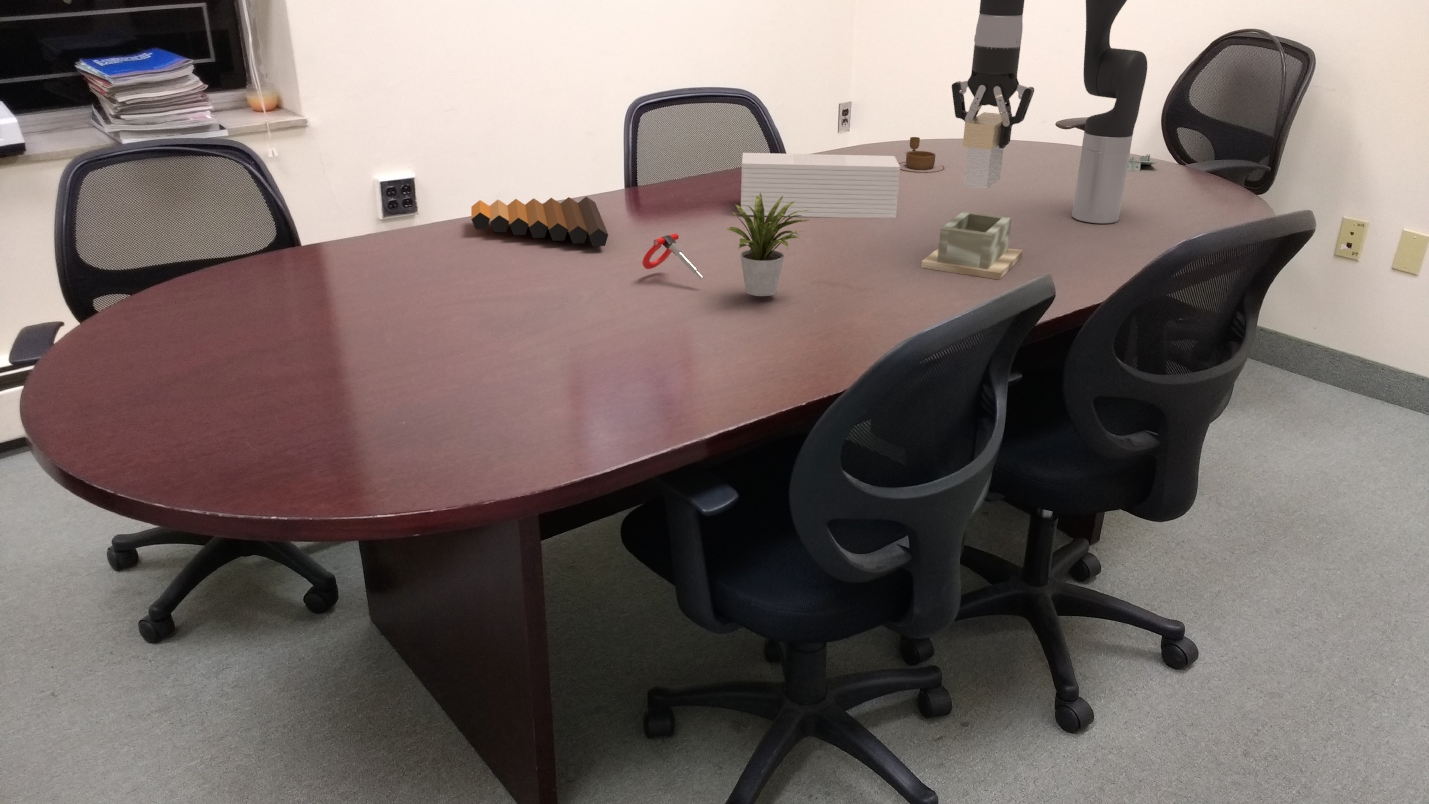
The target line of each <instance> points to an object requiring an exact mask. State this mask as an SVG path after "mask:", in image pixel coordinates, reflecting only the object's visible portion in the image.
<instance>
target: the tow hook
mask: <svg viewBox="0 0 1429 804" xmlns="http://www.w3.org/2000/svg"><path fill="white" fill-rule="evenodd" d="M679 238H680V237H679V234H678V233H671V234H668V235H665V236H661V237H660V238H656V239H654V240H653V245H652V246H651V248H650V249H648V251H647V252H646V253H645V254H644V257H643V258H642V259H643V260H642V262H641V265H642V266H643V267H644V269H646V270H652V269H655V268H656V267H658V266H660V265H661V264H662V263H664V262H665V261H666V260H667V259H668V258H669V256H670V255H671V254H672V253H673V254H674V255H675V257H678V258H679V260H681V261H682V263H683V264H684V265H685V266H686V267H687V268H688V269H689V270H690V271H691V273H693V274H695V275H696V276H697V278H698V279H700V280H703V279H704V276H703V275H702V273H700V272H699V269H698V268H697V267H696V266H695V264H693V263H692V261H690V260H689V258H688V257H686V255H685V254H684V253H683V252H682V249H681V248H680V247H679V246H678V245H677V241H678V240H679ZM662 245H663V247H665V251H664V252H663V254H661V256H660V257H658V258H657V259H655V260H653V261H651V258H652V257H653V255H654V254H655V253H656V252H657V251H658V250H659V249H660V248H661V247H662Z"/></svg>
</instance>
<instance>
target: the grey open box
mask: <svg viewBox="0 0 1429 804" xmlns="http://www.w3.org/2000/svg"><path fill="white" fill-rule="evenodd" d="M1012 221H1013V218H1012V217H1011V216H1009V217H1008V216H1002V215H997V214H989V213H988V214H986V213H980V212H973V211H966V210H963V211H961V212H960V213H959V214H957V215H956V216H955V217H953V218H952V219H951V220H950V221H948V222H947V223H946V224H944V225H943V226H942V227H940V230H939V241H938V247H937V248H936V249H935V250H933V251H932V252H931V253H930V254H928V255H927V256H926V257H925V258H924V259H922V261H921V266H920V267H921V268H922V269H928V270H935V271H940V272H946V273H947V272H948V273H953V274H961V275H966V276H973V277H974V276H975V277H980V278H987V279H990V280H992V279H993V280H1000V281H1001V279H1003V277H1004V276H1005V275H1006V274H1007V273H1008V272H1009V271H1010V270H1011V269H1012V268H1013V266H1015V264H1017V262H1019V260H1020V259H1021V258H1022V257H1023V249H1017V248H1009V243H1010V235H1011V229H1012V228H1011V227H1012Z"/></svg>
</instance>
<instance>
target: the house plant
mask: <svg viewBox="0 0 1429 804" xmlns="http://www.w3.org/2000/svg"><path fill="white" fill-rule="evenodd" d="M782 198H783V196H782V197H781V198H780V199H779V200H778V201H777V202H776V204H775V205H774V206H773V208H772V209H771V210H770V212H769V214H768V216H766V217H765V216H764V206H763V202H762V195H761V193H760V195H759V197H758V196H757V197H756V200H755V210H753V209H752V208H751V207H750V206H748V207H749V208H750V209H751V210H752V212H753V214H754V215H753V220H752V218H750V215H747V214H746V213H745V211H744V210H743V209H742V208H741V206H740V205H738V204H736V203H734V206H735V207H736V209H737V211H738V214H739V215H740V216H742V218H743V219H744V221H745V223H746V224H745V223H744V222H743V221H742V219H741V218H740V217H739V216H738V215H737V213H736V212H733V211H731V213H732V214H734V216H735V217H736V218H737V219H738V220H739V221H740V223H742V225H743V226H744V227H745V229H746V230H747V232H748V234H749V236H748V235H747V234H746V232H745V231H744V230H742V229H740V228H739V227H736V226H735V227H734V226H731V227H728V228H727V230H728V231H731V232H733V233H736V234H738V235H739V236H740V237H741V236H742V238H739V244H738V246H739V247H738V249H741V248H742V247H746V246H747V247H749V248H750V249H747V250H744V251H741V253H740V262H741V268H742V273H743V282H744V289H745V293H747V294H748V295H749V296H750V295H751V296H755V297H767V296H769V297H770V296H772V295H776V293H777V290H778V286H779V281H780V276H781V272H782V267H783V261H784V254H783V253H782V252H781V251H778V250H776V249H777V248H778V247H779V246H780V245H781V244H782V245H783V246H785V247H786V248H787V250H789V243H788V241H787V240H789V239H790V240H791V239H800V240H801V237H798V236H800V234H799V232H802V233H803V232H804V230H796V231H792V230H784V231H783V230H782V231H780V230H781V229H782V228H784V227H788V226H790V225H793V224H797V223H801V222H803V223H804V222H808V221H810V219H795V220H790V219H793V218H795V217H797V216H801V215H794V216H790V215H792V214H795V213H797V212H801V211H808V210H801V211H796V212H793V213H791V214H789V215H787V216H784V215H785V213H786V211H787V209H788V207H789V206H790V205H792V204H793V203H794V202H795V201H793V202H791V203H788V204H787V205H785V206H784V207H783V208H782V209H781V210H780V211H779V212H778V213H777V215H775V216H774V214H775V212H776V210H777V208H778V206H779V204H780V202H781V200H782ZM745 206H747V205H745ZM783 220H784V221H783ZM746 225H747V226H746ZM779 231H780V232H779ZM785 234H788V235H785ZM794 234H795V235H794ZM783 235H785V236H783ZM797 235H798V236H797ZM781 236H782V237H781Z"/></svg>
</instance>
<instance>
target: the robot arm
mask: <svg viewBox="0 0 1429 804" xmlns="http://www.w3.org/2000/svg"><path fill="white" fill-rule="evenodd" d="M1127 1H1128V0H1085V41H1084V54H1083V55H1084V56H1083V57H1084V58H1083V84H1084V88H1085V91H1086V92H1087V93H1088V94H1089V95H1090V96H1094V97H1100V98H1108V99H1115V102H1114V105H1113V107H1112V109H1110V110H1109V111H1106V112H1103V113H1098V114H1093V115H1090V116H1089V117H1087V119H1086V120H1085V124H1084V130H1083V131H1084V132H1083V138H1082V145H1081V152H1080V158H1079V165H1078V171H1077V172H1078V173H1077V178H1076V184H1075V192H1074V198H1073V204H1072V205H1073V206H1072V211H1071V217H1072V218H1073V219H1075V220H1077V221H1080V222H1084V223H1093V224H1113V223H1117V222H1118V221H1119V220H1120V216H1121V215H1120V214H1121V208H1122V203H1123V196H1124V191H1125V190H1124V189H1125V183H1126V179H1127V172H1128V171H1127V167H1129V166H1128V161H1129V160H1130V154H1131V147H1132V141H1133V137H1134V131H1135V126H1136V123H1137V120H1138V117H1139V112H1140V106H1141V101H1142V97H1143V92H1144V88H1145V84H1146V80H1147V73H1148V59H1147V56H1146V54H1145V53H1144V52H1143V51H1141V50H1135V49H1125V48H1123V49H1122V48H1116V47H1115V48H1114V47H1111V43H1110V41H1111V40H1110V37H1111V29H1112V26H1113V24H1114V21H1115V19H1116V18H1117V16H1118V14H1119V13H1120V11H1121V10H1122V8H1123V7H1124V6H1125V4H1126V2H1127ZM1024 7H1025V0H980V3H979V12H978V13H979V14H978V18H977V19H978V20H977V23H976V28H975V34H974V40H973V42H974V43H973V45H974V46H973V55H972V63H971V73H970V77H969V78H968V79H967V80H965V81H963V80H962V81H961V80H958V81H955V82H953V83H952V84H951V92H952V93H951V94H952V100H953V101H952V103H953V108H954V117H955V118H957V119H960V120H962V121H963V122H964V123H965V122H967V121H969V120H971V119H973V118H975V117H976V116H978V115H979V112H980V110H981V109H982V107H983V106H992V107H995V108H997V109H998V114H1000V115H1001V119H1002V123H1003V126H1002V127H1001V135H1000V144H999V148H1006V147H1007V146H1008V145H1009V144H1010V142H1011V138H1012V137H1011V135H1012V128H1013V125H1016V124H1017V125H1018V124H1021V123H1022V122H1023V121H1024V120H1025V117H1026V116H1027V112H1028V110H1029V107H1030V105H1031V101H1032V99H1033V96H1034V93H1035V88H1034V87H1033V86H1029V87H1028V86H1025V85H1022V84H1020V82H1019V79H1018V70H1019V61H1020V54H1021V48H1022V47H1021V46H1022V45H1021V44H1022V39H1023V37H1022V36H1023V30H1024V29H1023V27H1024V26H1023V25H1024V24H1023V19H1024V18H1023V17H1024V15H1023V14H1024ZM967 89H969V91H970V93H971V95H972V97H974V98H973V100H972V102H970V103H971V104H970V106H969V109H968V111H967V110H966V103H965V95H964V94H966V93H967ZM1016 92H1017V93H1018V95H1017V96H1018V97H1017V98H1018V99H1019V100H1020V101H1019V103H1018V107H1017V109H1016V112H1015V115H1013V113H1012V106H1011V102H1010V98H1011V97H1012V96H1014V94H1015V93H1016Z"/></svg>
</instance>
